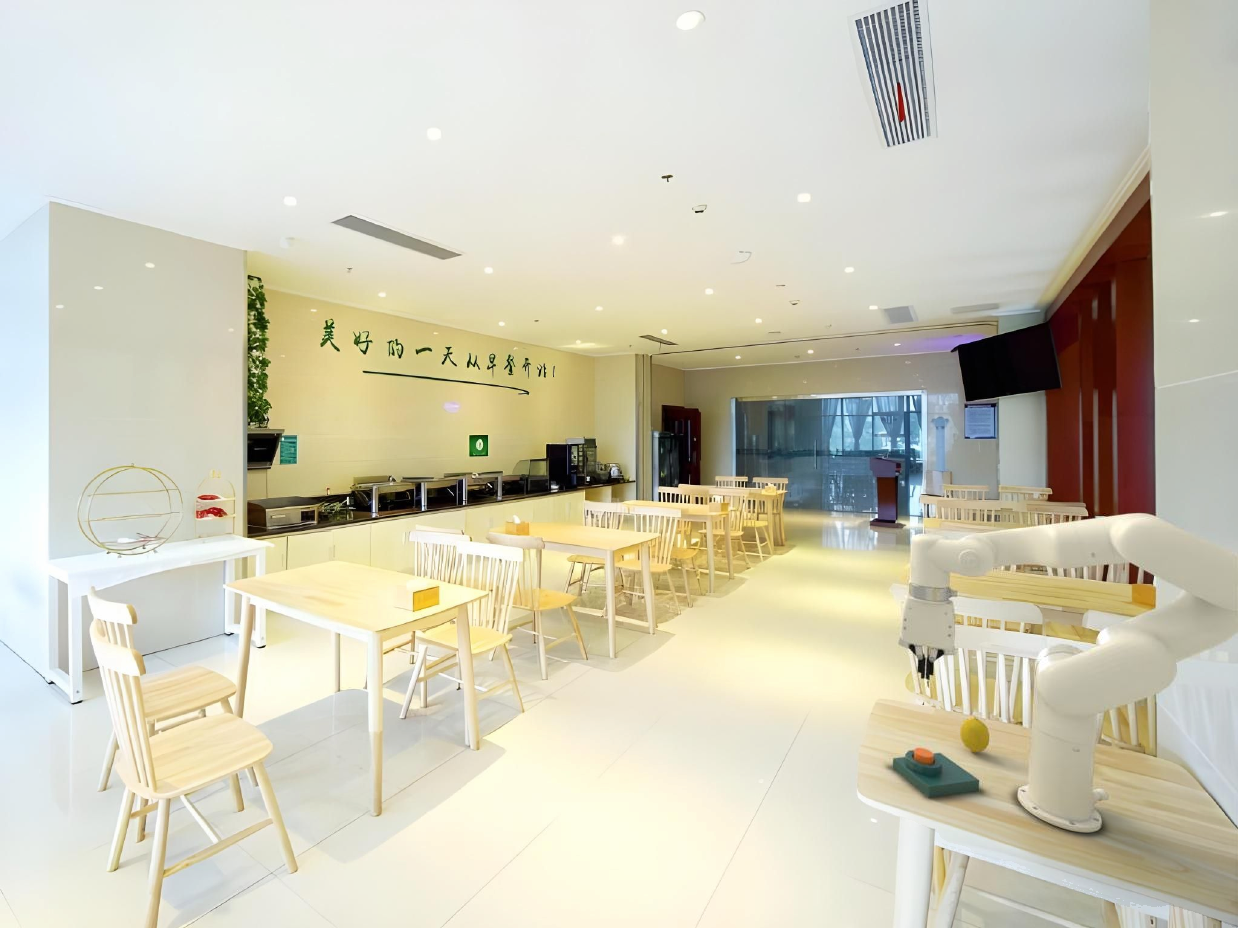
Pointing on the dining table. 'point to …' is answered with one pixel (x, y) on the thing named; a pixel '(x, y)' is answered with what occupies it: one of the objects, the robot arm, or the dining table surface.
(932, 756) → the orange button cap
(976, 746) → the lemon
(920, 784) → the button base
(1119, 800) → the dining table surface
